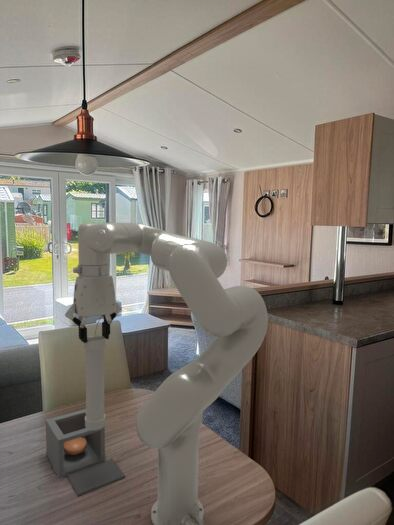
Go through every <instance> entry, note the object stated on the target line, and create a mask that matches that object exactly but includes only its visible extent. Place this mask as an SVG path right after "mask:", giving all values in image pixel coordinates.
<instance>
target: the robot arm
mask: <svg viewBox="0 0 394 525" xmlns="http://www.w3.org/2000/svg"><path fill="white" fill-rule="evenodd" d="M77 236H78V237H77V240H78V241H77V242H78V244H77V245H78V246H77V247H78V250H77V252H78V255H77V256H78V264H77V266H76V267H73V268H72V272H73V274H77V275H78V276H76V278H75V283H74V289H73V298H72V299H73V302H72V304H71V305H70V307H69V308H68V309H67V311H66V312H65V313H64V316H65V317H66V318H67V319H69V320H70V321H72V322H73V323H74V324H75V325H77V326H78V340H80V342H82V343H83V344H85V343H86V342H87V337H88V328H87V327H86V323H87V319H88V318H90V317H91V318H92V317H99V316H100V317H101V316H102V315H103V316H102V319H103V321H102V323H101V336H104V337H105V340H109V339H110V335H111V324H112V323H113V321H114V320H115V318H116V317H117V315H119V313H120V312H122V309H123V308H122V307H121V306H120V304H119V303H118V302H117V298H116V291H115V290H116V289H115V283H114V279H113V276H112V275H110V262H109V261H110V255H112V254H121V253H122V254H123V253H139V254H142V255H146V256H149V257H150V260H151V262H152V264H153V266H154V267H155V268H157V269H160V270H164V271H167V272H168V273H169V276H170V278H171V280H172V282H173V284H174V286H175V288H176V289H177V291H178V292H179V294H180V295H181V297H182V299H183V301H184V302H185V304H186V306H187V307H188V308H189V309H188V310H190V312H191V314H192V315H193V317H194V319H195V321H197V323H198V325H199V326H200V327H201V328H202V330H204V331H205V332H206V333H207V334H209V335H211V336H212V337H213V336H214V337H215V338H214V339H213V340H212V341H211V342H210V344H209V345H208V346H207V348H205V350H203V352H202V353H201V354H200V355H199V356H198V357H197V358H196V359H194V360H193V361H191V362H188V363H187V364H185V365H184V366H182V367H181V368H178V369H177V370H176V371H174V372H173V373H171V374H170V375H169V376H168V377H166V378H165V379H164V380H163V382H162V383H161V384H160V385H159V386H158V387H157V389H156V390H155V391H154V392H153V393H152V395H151V396H149V398H148V399H147V400H146V402H144V404H143V405H142V406H141V408H140V409H139V410H138V413H137V416H136V420H135V429H136V433H137V437H138V439H139V440H140V441H141V442H142V443H143V445H145V446H147V447H148V448H151V449H155V450H156V449H157V451H158V452H157V500H156V501H155V502H154V504H153V505H152V507H151V509H150V510H151V511H150V520H151V522H152V524H153V525H205V521H204V518H205V517H204V516H205V510H204V506H203V504H202V502H201V501H200V500H199V498H198V497H199V493H198V492H199V452H200V450H199V449H200V434H201V427H202V423H203V422H202V421H203V417H204V416H203V415H204V411H205V410H206V409H207V408H208V407H209V406H210V405H212V404H213V403H214V402H215V401H216V400H217V399H218V398H219V397H220V395H221V394H222V393H223V391H224V390H225V389H226V387H227V386H229V384H230V383H231V382H232V381H233V380H234V379H235V378H236V377H237V376H238V375H239V374H240V372H242V370H243V369H244V368H245V367H246V365H247V364H248V363H250V361H251V360H252V359H253V357H254V356H255V354H256V353H257V352H258V350H259V349H260V347H261V346H262V344H263V342H264V339H265V337H266V334H267V330H268V323H269V316H268V310H267V306H266V303H265V300H264V298H263V297H262V295H261V294H260V293H259V292H258V291H257V290H256V289H255V288H253V287H250V286H248V285H235V286H231V287H228V288H225V289H224V288H223V285H222V284H221V283H220V281H219V278H220V277H221V276H222V275H223V274H224V273H225V271H226V269H227V267H228V256H227V253H226V252H225V249H223V248H222V247H221V246H220V245H218V244H216V243H215V242H211V241H209V240H208V241H207V240H203V239H199V238H195V237H189V236H185V235H181V234H177V233H172V232H170V231H166V230H163V229H162V228H158V227H153V226H150V225H145V224H142V223H135V222H103V223H102V222H101V223H100V222H86V223H85V222H84V223H83V222H82V223H80V224H79V226H78V228H77ZM74 314H76V315H78V318H77V317H76V316H74Z"/></svg>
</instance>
